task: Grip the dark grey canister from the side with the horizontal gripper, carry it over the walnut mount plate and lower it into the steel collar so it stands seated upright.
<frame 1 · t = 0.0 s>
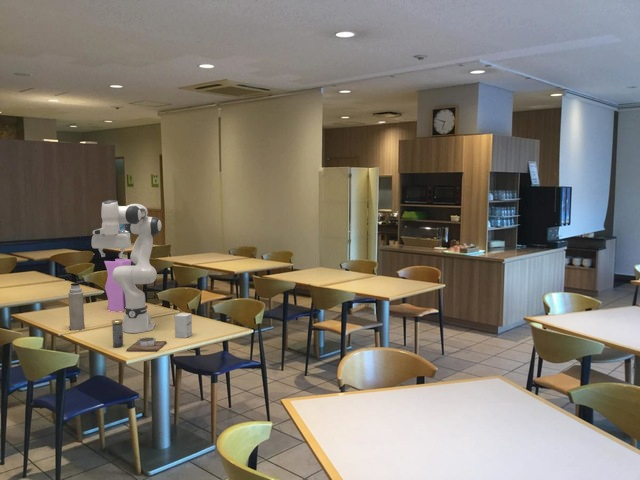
hand: (111, 256, 291), 48 cm above the table, tool pointing down, fingers open, 8 cm apart
container: (120, 309, 384), on the table
thermos bottle: (77, 329, 329), on the table
mount plate: (147, 347, 290), on the table
steel collar: (146, 342, 290), on the mount plate, point 3 cm above the table
dark grey canister: (118, 346, 292), on the table
supplement box: (183, 336, 313), on the table
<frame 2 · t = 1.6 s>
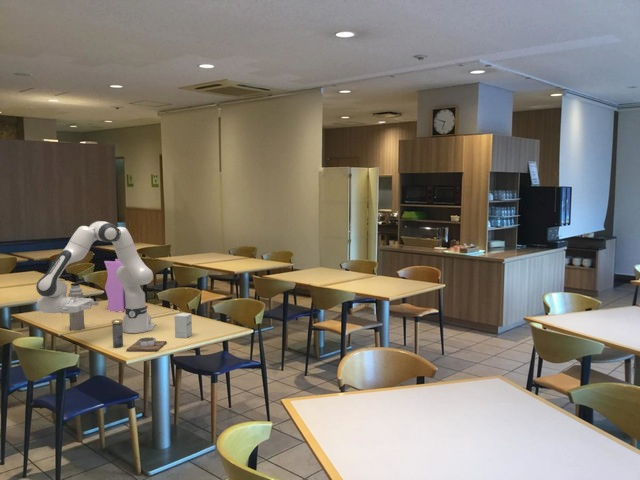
hand: (94, 305, 290), 22 cm above the table, tool horizontal, fingers open, 8 cm apart
nothing on the table moved.
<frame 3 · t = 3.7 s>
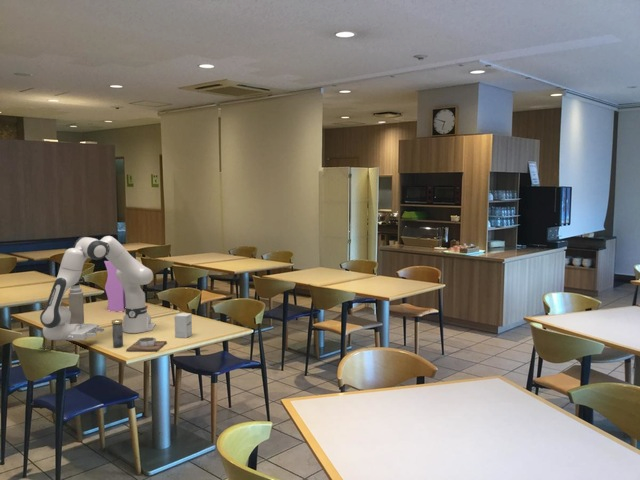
hand: (99, 332, 292), 8 cm above the table, tool horizontal, fingers open, 8 cm apart
nothing on the table moved.
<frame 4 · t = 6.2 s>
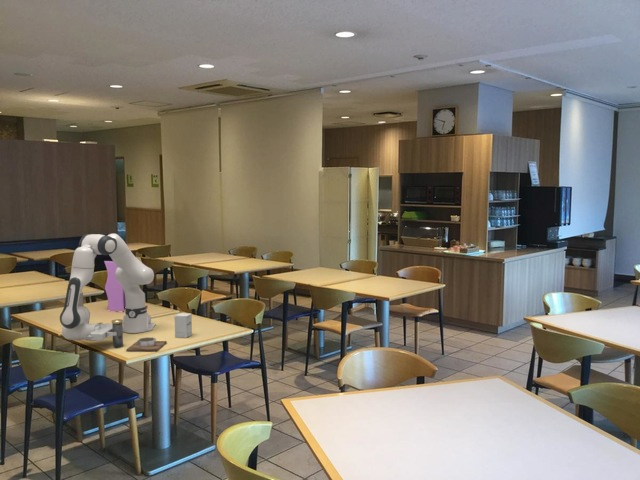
hand: (119, 332, 291), 8 cm above the table, tool horizontal, fingers closed on dark grey canister, 5 cm apart
dark grey canister: (118, 346, 292), on the table, touching gripper
everything else where it was.
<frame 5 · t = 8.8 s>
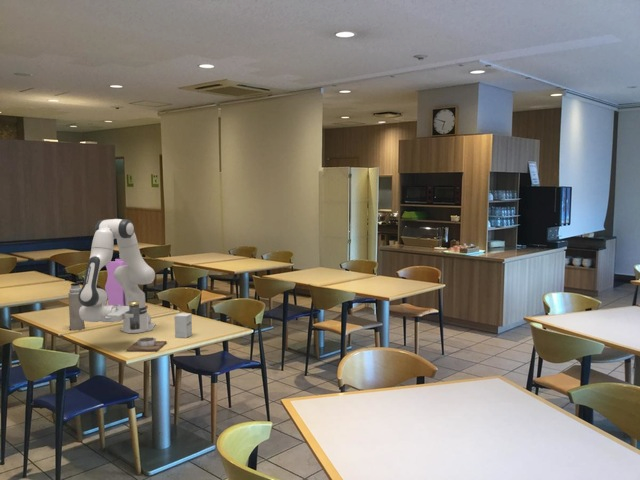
hand: (136, 314, 289), 18 cm above the table, tool horizontal, fingers closed on dark grey canister, 5 cm apart
dark grey canister: (135, 328, 290), point 10 cm above the table, touching gripper
everything else where it was.
when the fingers open (10 cm above the table, at t = 11.7 s): dark grey canister drops 1 cm, resting on mount plate.
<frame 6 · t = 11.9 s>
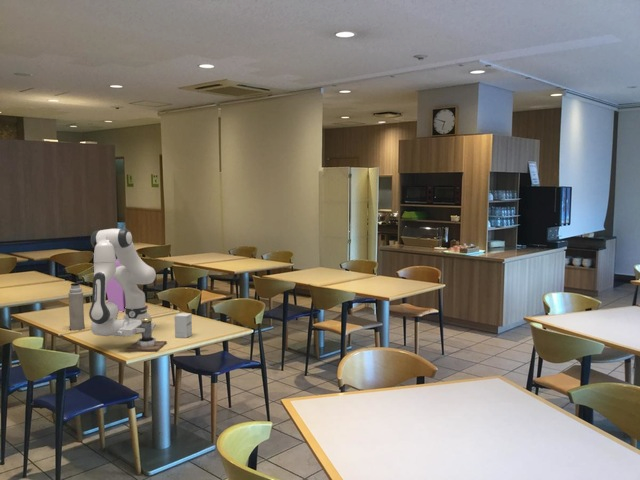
hand: (148, 327, 289), 10 cm above the table, tool horizontal, fingers open, 7 cm apart
dark grey canister: (146, 344, 290), point 1 cm above the table, touching mount plate
everything else where it was.
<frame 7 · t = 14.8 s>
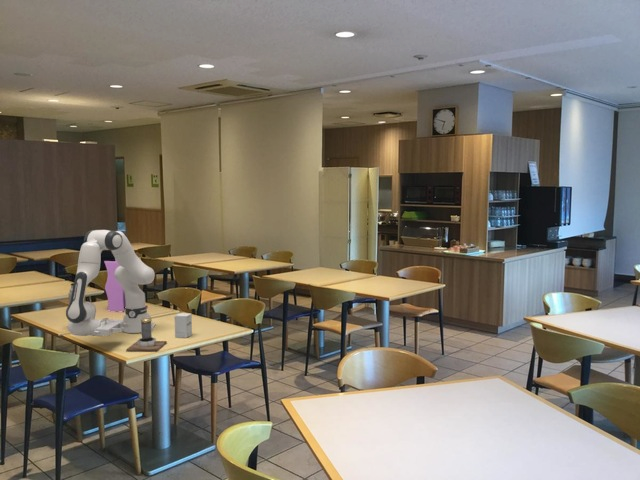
hand: (125, 327, 290), 11 cm above the table, tool horizontal, fingers open, 8 cm apart
nothing on the table moved.
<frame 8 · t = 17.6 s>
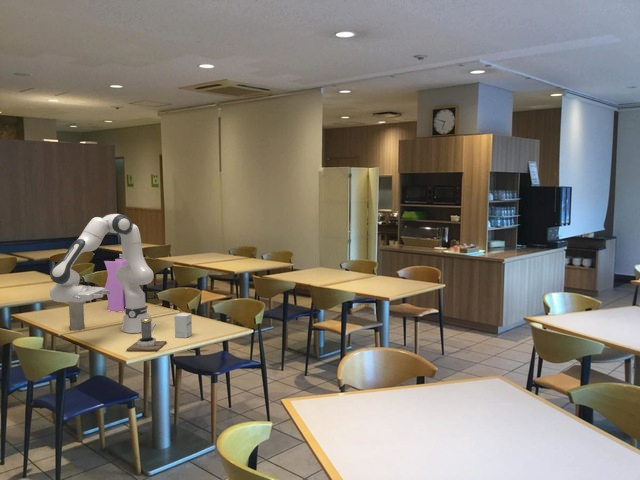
hand: (106, 294, 292), 28 cm above the table, tool horizontal, fingers open, 8 cm apart
nothing on the table moved.
at the end: dark grey canister 0.1 cm off-centre on the mount plate, point 1.2 cm above the mount plate's base; dark grey canister tilted 0°; the gripper is holding nothing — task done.
